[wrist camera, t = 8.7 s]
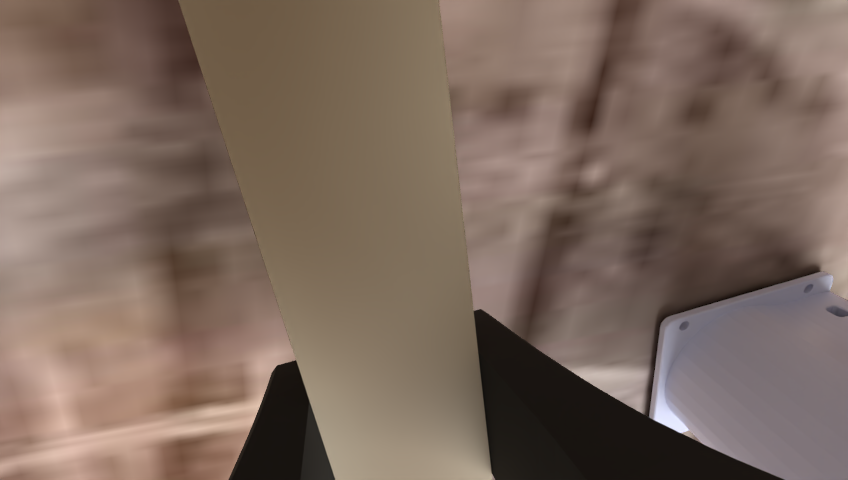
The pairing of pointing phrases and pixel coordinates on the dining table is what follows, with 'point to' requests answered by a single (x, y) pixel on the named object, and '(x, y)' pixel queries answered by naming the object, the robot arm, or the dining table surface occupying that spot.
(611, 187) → the dining table surface
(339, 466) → the beige tapered strip
